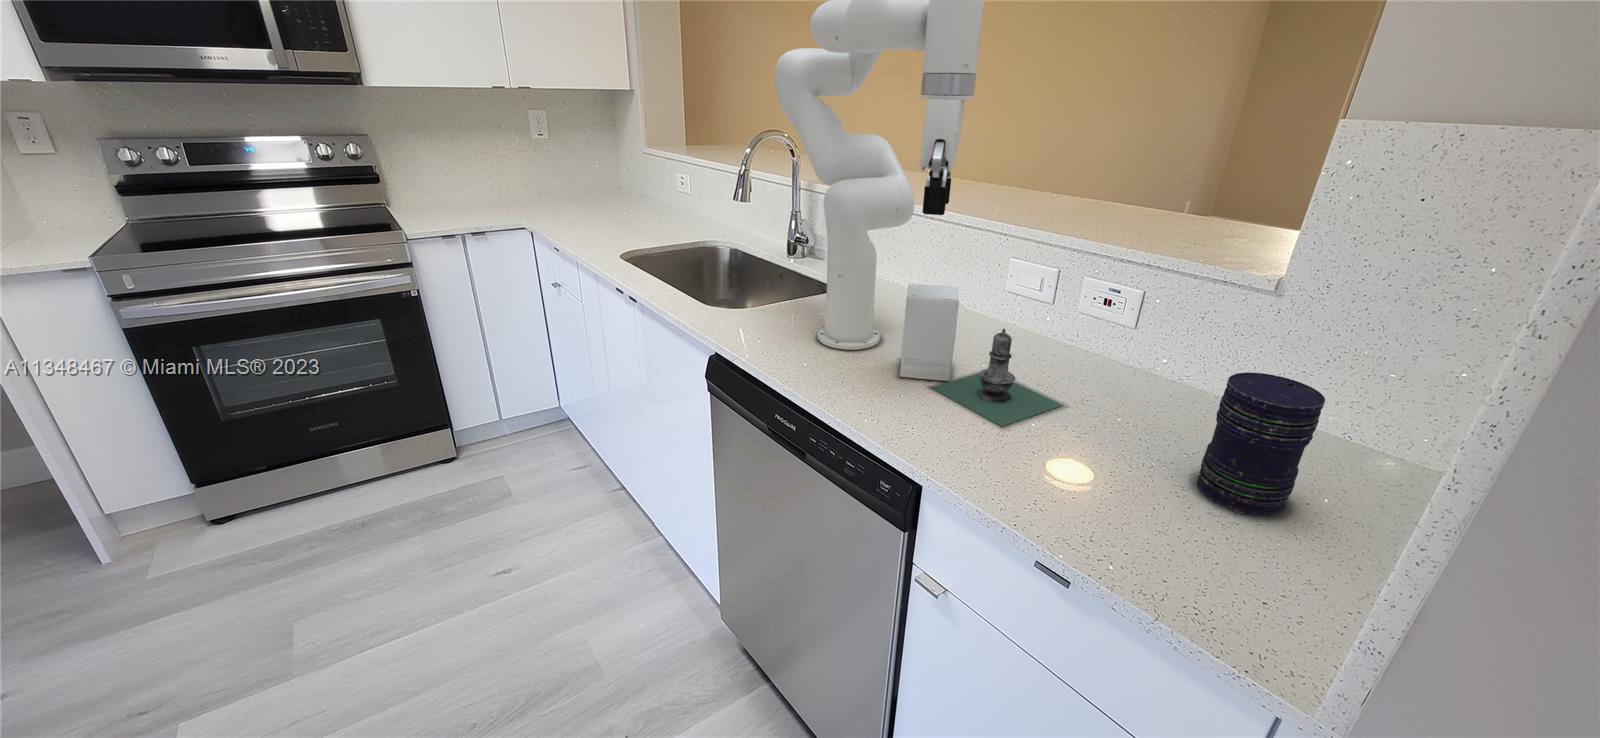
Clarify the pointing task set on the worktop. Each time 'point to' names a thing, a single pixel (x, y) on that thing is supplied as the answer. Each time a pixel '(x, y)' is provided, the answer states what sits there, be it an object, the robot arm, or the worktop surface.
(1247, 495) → the storage jar
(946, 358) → the white product box
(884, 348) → the worktop surface
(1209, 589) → the worktop surface
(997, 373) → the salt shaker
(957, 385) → the mat
